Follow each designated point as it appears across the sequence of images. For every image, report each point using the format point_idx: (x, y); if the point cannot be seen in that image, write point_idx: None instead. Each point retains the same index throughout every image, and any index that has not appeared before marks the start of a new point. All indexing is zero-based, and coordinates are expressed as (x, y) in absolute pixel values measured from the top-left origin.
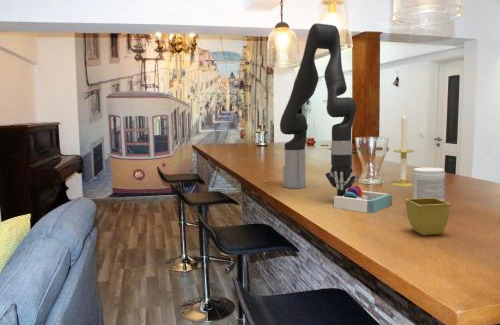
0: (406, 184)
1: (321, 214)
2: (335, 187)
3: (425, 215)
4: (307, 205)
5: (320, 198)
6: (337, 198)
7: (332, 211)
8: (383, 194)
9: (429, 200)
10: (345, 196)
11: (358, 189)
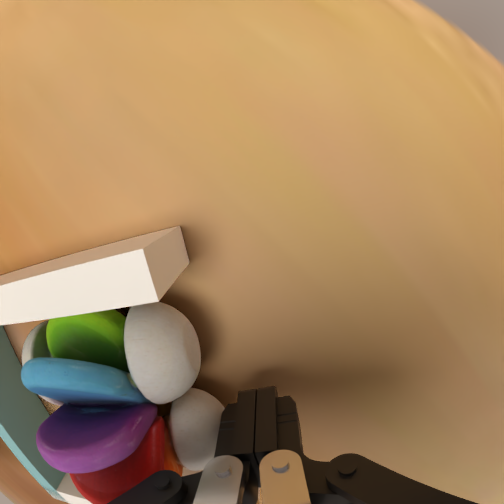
0: None
1: (98, 15)
2: (326, 463)
3: None
4: (406, 120)
5: (468, 367)
6: (106, 255)
7: (96, 123)
8: (65, 492)
9: None
10: (119, 369)
11: (76, 474)
